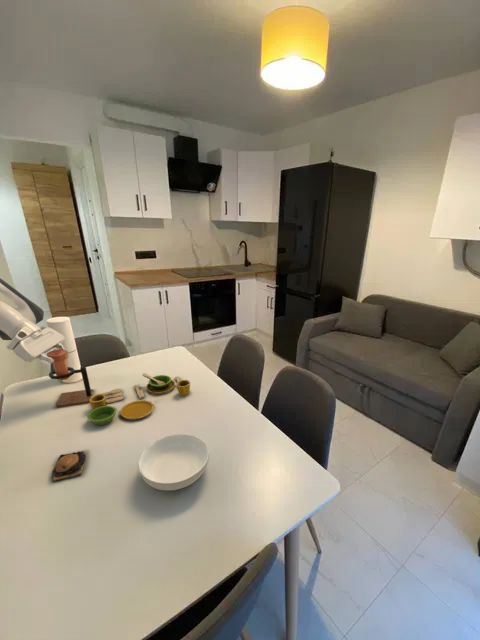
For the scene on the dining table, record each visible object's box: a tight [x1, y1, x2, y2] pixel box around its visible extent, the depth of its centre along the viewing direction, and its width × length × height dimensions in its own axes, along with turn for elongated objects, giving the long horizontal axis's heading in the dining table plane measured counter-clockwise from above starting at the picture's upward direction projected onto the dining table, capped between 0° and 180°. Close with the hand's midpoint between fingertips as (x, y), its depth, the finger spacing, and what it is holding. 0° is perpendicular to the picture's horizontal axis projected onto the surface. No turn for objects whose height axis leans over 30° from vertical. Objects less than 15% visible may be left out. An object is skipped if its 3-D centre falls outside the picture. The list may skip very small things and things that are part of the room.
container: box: [46, 316, 83, 384], centre depth 135 cm, size 9×9×30 cm
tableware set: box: [86, 372, 191, 426], centre depth 125 cm, size 41×28×6 cm
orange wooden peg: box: [46, 349, 70, 381], centre depth 118 cm, size 7×7×12 cm
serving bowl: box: [137, 433, 210, 492], centre depth 90 cm, size 21×21×7 cm
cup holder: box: [48, 365, 94, 408], centre depth 122 cm, size 13×10×14 cm
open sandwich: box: [52, 450, 87, 482], centre depth 91 cm, size 11×8×4 cm
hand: (59, 357), depth 116 cm, fingers closed on orange wooden peg, 7 cm apart
